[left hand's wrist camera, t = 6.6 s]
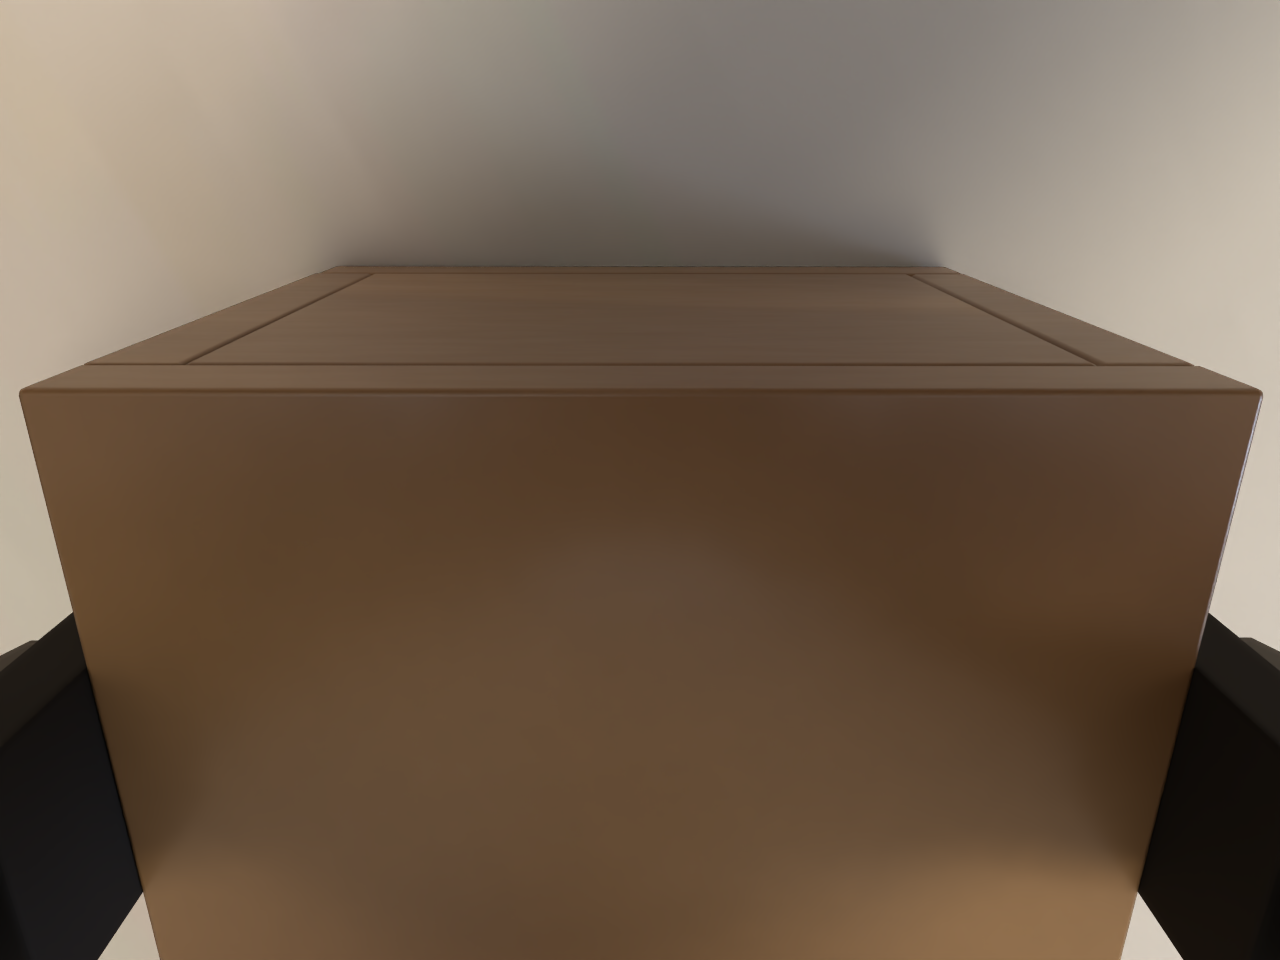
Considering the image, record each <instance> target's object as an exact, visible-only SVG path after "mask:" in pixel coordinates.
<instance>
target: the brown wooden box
mask: <svg viewBox="0 0 1280 960" xmlns="http://www.w3.org/2000/svg"><path fill="white" fill-rule="evenodd" d="M19 398H20V402H21V406H22V410H23V414H24V418H25V422H26V426H27V430H28V434H29V438H30V442H31V446H32V450H33V454H34V458H35V462H36V466H37V470H38V474H39V478H40V481H41V485H42V489H43V493H44V497H45V501H46V505H47V509H48V513H49V517H50V521H51V525H52V529H53V533H54V537H55V541H56V545H57V549H58V553H59V557H60V561H61V565H62V569H63V573H64V577H65V581H66V585H67V589H68V593H69V597H70V601H71V605H72V609H73V613H74V617H75V621H76V625H77V629H78V633H79V637H80V641H81V645H82V649H83V653H84V657H85V661H86V665H87V669H88V673H89V677H90V681H91V685H92V689H93V693H94V697H95V701H96V705H97V709H98V713H99V717H100V721H101V725H102V729H103V733H104V737H105V741H106V745H107V749H108V753H109V757H110V761H111V765H112V769H113V773H114V777H115V781H116V785H117V789H118V793H119V797H120V801H121V805H122V809H123V813H124V817H125V821H126V825H127V829H128V833H129V837H130V841H131V845H132V849H133V853H134V857H135V861H136V865H137V869H138V873H139V877H140V881H141V885H142V889H143V893H144V897H145V901H146V905H147V909H148V913H149V917H150V921H151V925H152V929H153V933H154V937H155V941H156V945H157V949H158V953H159V957H160V960H1120V959H1121V955H1122V951H1123V947H1124V943H1125V939H1126V935H1127V932H1128V928H1129V924H1130V920H1131V916H1132V912H1133V908H1134V904H1135V900H1136V896H1137V892H1138V888H1139V884H1140V880H1141V876H1142V872H1143V868H1144V864H1145V861H1146V857H1147V853H1148V849H1149V845H1150V841H1151V837H1152V833H1153V829H1154V825H1155V821H1156V817H1157V813H1158V809H1159V805H1160V801H1161V797H1162V794H1163V790H1164V786H1165V782H1166V778H1167V774H1168V770H1169V766H1170V762H1171V758H1172V754H1173V750H1174V746H1175V742H1176V738H1177V734H1178V730H1179V726H1180V723H1181V719H1182V715H1183V711H1184V707H1185V703H1186V699H1187V695H1188V691H1189V687H1190V683H1191V679H1192V675H1193V671H1194V667H1195V663H1196V659H1197V655H1198V652H1199V648H1200V644H1201V640H1202V636H1203V632H1204V628H1205V624H1206V620H1207V616H1208V612H1209V608H1210V604H1211V600H1212V596H1213V592H1214V588H1215V585H1216V581H1217V577H1218V573H1219V569H1220V565H1221V561H1222V557H1223V553H1224V549H1225V545H1226V541H1227V537H1228V533H1229V529H1230V525H1231V521H1232V517H1233V514H1234V510H1235V506H1236V502H1237V498H1238V494H1239V490H1240V486H1241V482H1242V478H1243V474H1244V470H1245V466H1246V462H1247V458H1248V454H1249V450H1250V446H1251V443H1252V439H1253V435H1254V431H1255V427H1256V423H1257V419H1258V415H1259V411H1260V407H1261V403H1262V399H1263V393H1262V391H1261V390H1259V389H1257V388H1254V387H1252V386H1249V385H1246V384H1244V383H1241V382H1239V381H1236V380H1234V379H1231V378H1229V377H1226V376H1223V375H1221V374H1218V373H1216V372H1213V371H1211V370H1208V369H1206V368H1203V367H1200V366H1194V365H1192V364H1190V363H1188V362H1185V361H1183V360H1180V359H1178V358H1175V357H1173V356H1170V355H1168V354H1165V353H1163V352H1160V351H1157V350H1155V349H1152V348H1150V347H1147V346H1145V345H1142V344H1140V343H1137V342H1135V341H1132V340H1129V339H1127V338H1124V337H1122V336H1119V335H1117V334H1114V333H1112V332H1109V331H1107V330H1104V329H1101V328H1099V327H1096V326H1094V325H1091V324H1089V323H1086V322H1084V321H1081V320H1079V319H1076V318H1073V317H1071V316H1068V315H1066V314H1063V313H1061V312H1058V311H1056V310H1053V309H1051V308H1048V307H1045V306H1043V305H1040V304H1038V303H1035V302H1033V301H1030V300H1028V299H1025V298H1023V297H1020V296H1017V295H1015V294H1012V293H1010V292H1007V291H1005V290H1002V289H1000V288H997V287H995V286H992V285H989V284H987V283H984V282H982V281H979V280H977V279H974V278H972V277H969V276H967V275H964V274H960V273H958V272H955V271H953V270H950V269H948V268H945V267H374V266H337V267H334V268H331V269H329V270H326V271H324V272H321V273H316V274H313V275H311V276H308V277H305V278H303V279H300V280H298V281H295V282H293V283H290V284H288V285H285V286H282V287H280V288H277V289H275V290H272V291H270V292H267V293H264V294H262V295H259V296H257V297H254V298H252V299H249V300H247V301H244V302H241V303H239V304H236V305H234V306H231V307H229V308H226V309H223V310H221V311H218V312H216V313H213V314H211V315H208V316H206V317H203V318H200V319H198V320H195V321H193V322H190V323H188V324H185V325H182V326H180V327H177V328H175V329H172V330H170V331H167V332H165V333H162V334H159V335H157V336H154V337H152V338H149V339H147V340H144V341H141V342H139V343H136V344H134V345H131V346H129V347H126V348H124V349H121V350H118V351H116V352H113V353H111V354H108V355H106V356H103V357H100V358H98V359H95V360H93V361H90V362H88V363H85V364H84V365H81V366H79V367H76V368H74V369H71V370H69V371H66V372H63V373H61V374H58V375H56V376H53V377H51V378H48V379H46V380H43V381H40V382H38V383H35V384H33V385H30V386H28V387H25V388H23V389H21V390H20V392H19Z"/></svg>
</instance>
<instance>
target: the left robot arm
mask: <svg viewBox="0 0 1280 960" xmlns="http://www.w3.org/2000/svg"><path fill="white" fill-rule="evenodd" d="M142 893H143V889H142V885H141V881H140V877H139V873H138V869H137V865H136V861H135V857H134V853H133V849H132V845H131V841H130V837H129V833H128V829H127V825H126V821H125V817H124V813H123V809H122V805H121V801H120V797H119V793H118V789H117V785H116V781H115V777H114V773H113V769H112V765H111V761H110V757H109V753H108V749H107V745H106V741H105V737H104V733H103V729H102V725H101V721H100V717H99V713H98V709H97V705H96V701H95V697H94V693H93V689H92V685H91V681H90V677H89V673H88V669H87V665H86V661H85V657H84V653H83V649H82V645H81V641H80V637H79V633H78V629H77V625H76V621H75V617H74V613H71V614H70V615H69V616H68V617H66V618H65V619H64V620H63V621H62V622H60V623H59V624H58V625H57V626H55V627H54V628H53V629H52V630H51V631H49V632H48V633H47V634H46V635H44V636H43V637H42V638H41V639H40V640H38V641H29V642H27V643H25V644H23V645H21V646H19V647H17V648H15V649H13V650H11V651H9V652H7V653H5V654H3V655H1V656H0V960H98V958H99V957H100V955H101V954H102V952H103V951H104V949H105V948H106V946H107V945H108V943H109V942H110V940H111V939H112V937H113V936H114V934H115V933H116V931H117V930H118V928H119V927H120V925H121V924H122V922H123V921H124V919H125V918H126V916H127V915H128V913H129V912H130V911H131V909H132V908H133V906H134V905H135V903H136V902H137V900H138V899H139V897H140V896H141V894H142ZM1138 893H1139V894H1140V896H1141V897H1142V899H1143V900H1144V902H1145V903H1146V905H1147V906H1148V908H1149V909H1150V911H1151V912H1152V914H1153V915H1154V917H1155V918H1156V920H1157V921H1158V923H1159V924H1160V926H1161V927H1162V929H1163V930H1164V931H1165V933H1166V934H1167V936H1168V937H1169V939H1170V940H1171V942H1172V943H1173V945H1174V946H1175V948H1176V949H1177V951H1178V952H1179V954H1180V955H1181V957H1182V958H1183V960H1280V652H1279V651H1277V650H1275V649H1273V648H1271V647H1269V646H1267V645H1265V644H1263V643H1261V642H1259V641H1257V640H1255V639H1253V638H1239V637H1238V636H1237V635H1235V634H1234V633H1233V632H1232V631H1230V630H1229V629H1228V628H1227V627H1226V626H1224V625H1223V624H1222V623H1221V622H1219V621H1218V620H1217V619H1216V618H1215V617H1213V616H1212V615H1211V614H1210V613H1208V616H1207V620H1206V624H1205V628H1204V632H1203V636H1202V640H1201V644H1200V648H1199V652H1198V655H1197V659H1196V663H1195V667H1194V671H1193V675H1192V679H1191V683H1190V687H1189V691H1188V695H1187V699H1186V703H1185V707H1184V711H1183V715H1182V719H1181V723H1180V726H1179V730H1178V734H1177V738H1176V742H1175V746H1174V750H1173V754H1172V758H1171V762H1170V766H1169V770H1168V774H1167V778H1166V782H1165V786H1164V790H1163V794H1162V797H1161V801H1160V805H1159V809H1158V813H1157V817H1156V821H1155V825H1154V829H1153V833H1152V837H1151V841H1150V845H1149V849H1148V853H1147V857H1146V861H1145V864H1144V868H1143V872H1142V876H1141V880H1140V884H1139V888H1138Z"/></svg>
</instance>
